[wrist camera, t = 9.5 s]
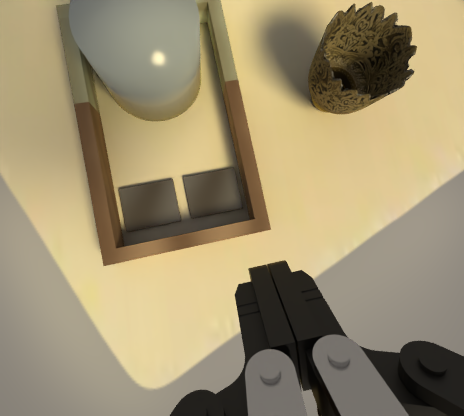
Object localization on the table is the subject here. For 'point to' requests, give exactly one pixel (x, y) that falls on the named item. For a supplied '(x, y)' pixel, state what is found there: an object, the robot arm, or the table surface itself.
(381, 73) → the cup
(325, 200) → the table surface
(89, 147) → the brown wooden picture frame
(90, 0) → the slate stoneware canister
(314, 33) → the table surface
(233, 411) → the robot arm
